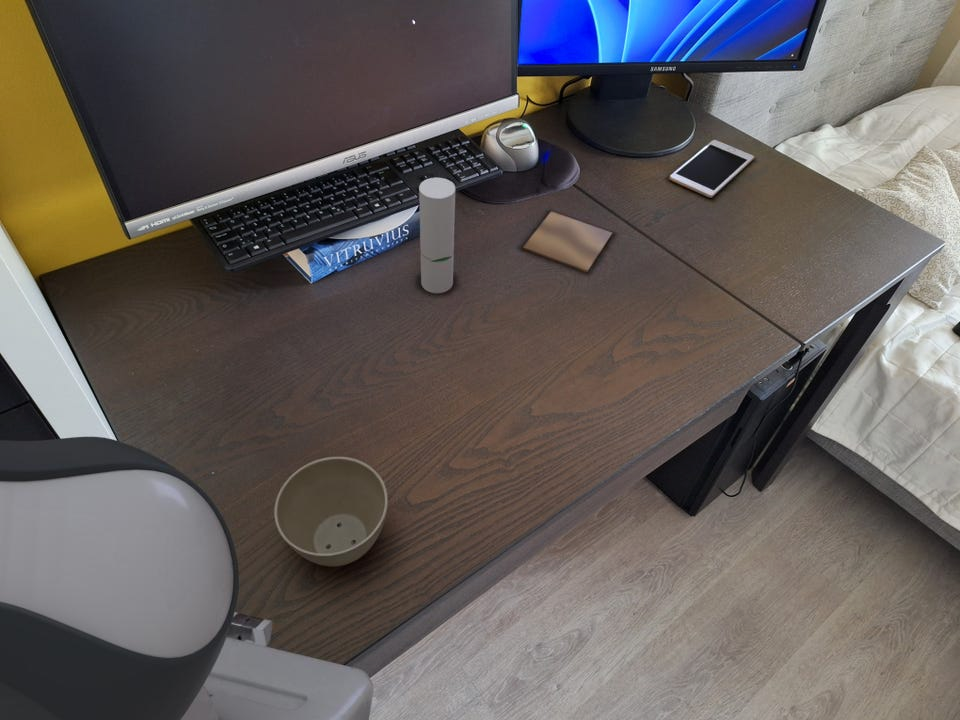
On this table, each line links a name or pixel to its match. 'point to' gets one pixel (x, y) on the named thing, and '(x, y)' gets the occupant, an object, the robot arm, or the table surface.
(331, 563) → the flower pot
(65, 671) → the robot arm
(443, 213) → the tube
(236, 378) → the table surface
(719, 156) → the cell phone
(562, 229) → the shiny brown rectangular coaster
